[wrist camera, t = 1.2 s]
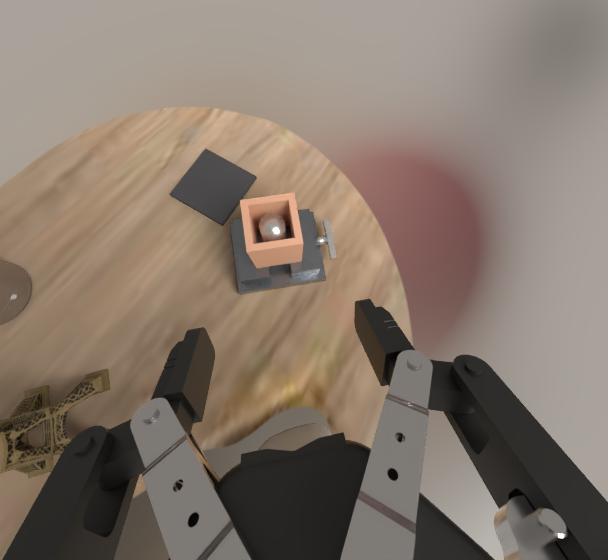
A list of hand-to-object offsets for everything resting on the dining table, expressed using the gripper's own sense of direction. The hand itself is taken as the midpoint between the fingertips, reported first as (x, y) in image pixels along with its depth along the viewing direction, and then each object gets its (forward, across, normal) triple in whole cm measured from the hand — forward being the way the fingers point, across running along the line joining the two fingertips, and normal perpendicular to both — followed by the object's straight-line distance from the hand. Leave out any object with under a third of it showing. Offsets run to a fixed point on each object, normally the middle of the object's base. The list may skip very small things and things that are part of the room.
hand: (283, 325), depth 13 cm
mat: (+34, +9, -1) cm, 35 cm away
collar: (+22, 0, +5) cm, 22 cm away
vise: (+25, 0, +8) cm, 26 cm away
